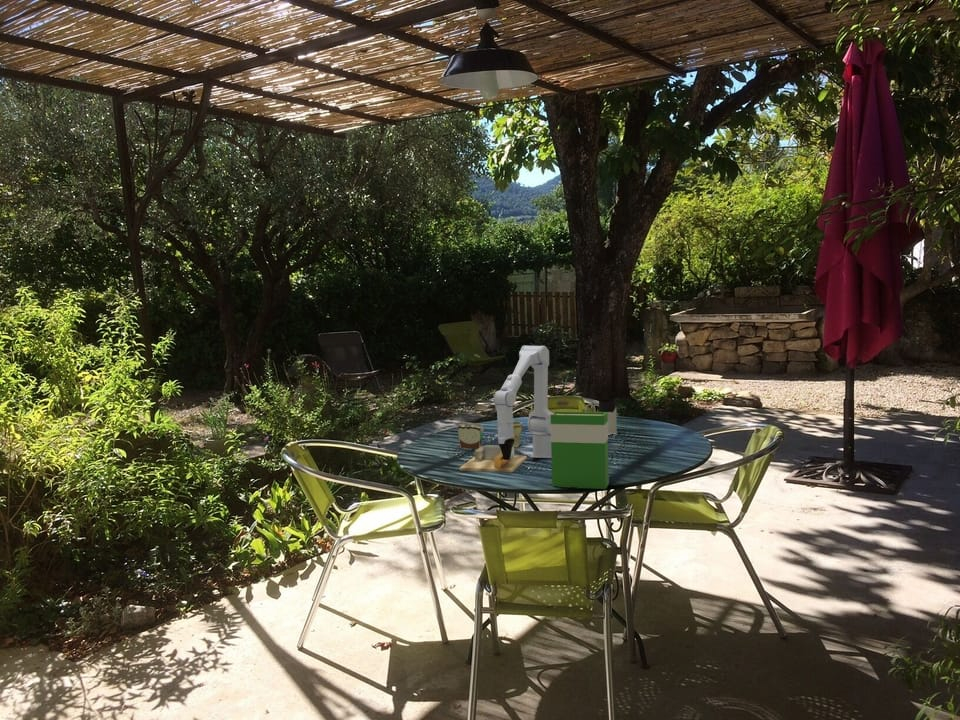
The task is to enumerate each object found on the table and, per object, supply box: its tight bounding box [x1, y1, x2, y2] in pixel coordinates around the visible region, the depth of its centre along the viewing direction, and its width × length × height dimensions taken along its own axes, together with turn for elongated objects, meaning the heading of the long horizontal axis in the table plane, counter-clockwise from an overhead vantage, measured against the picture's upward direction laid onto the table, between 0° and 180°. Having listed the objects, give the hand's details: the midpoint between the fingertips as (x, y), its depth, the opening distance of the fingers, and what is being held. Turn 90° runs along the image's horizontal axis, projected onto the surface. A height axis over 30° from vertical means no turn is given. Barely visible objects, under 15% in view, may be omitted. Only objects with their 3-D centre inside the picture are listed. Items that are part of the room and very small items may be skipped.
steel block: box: [483, 444, 502, 460], centre depth 290 cm, size 8×4×5 cm, turn 73°
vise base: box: [459, 445, 528, 473], centre depth 286 cm, size 20×23×5 cm
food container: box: [456, 422, 485, 451], centre depth 318 cm, size 12×6×10 cm, turn 59°
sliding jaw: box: [494, 447, 515, 468], centre depth 284 cm, size 2×20×4 cm, turn 163°
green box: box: [550, 411, 610, 490], centre depth 250 cm, size 18×7×24 cm, turn 72°
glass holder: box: [584, 399, 618, 435], centre depth 337 cm, size 9×14×15 cm, turn 89°
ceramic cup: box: [510, 420, 523, 448], centre depth 319 cm, size 13×10×10 cm
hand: (506, 459), depth 278 cm, fingers closed, pressing on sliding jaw
